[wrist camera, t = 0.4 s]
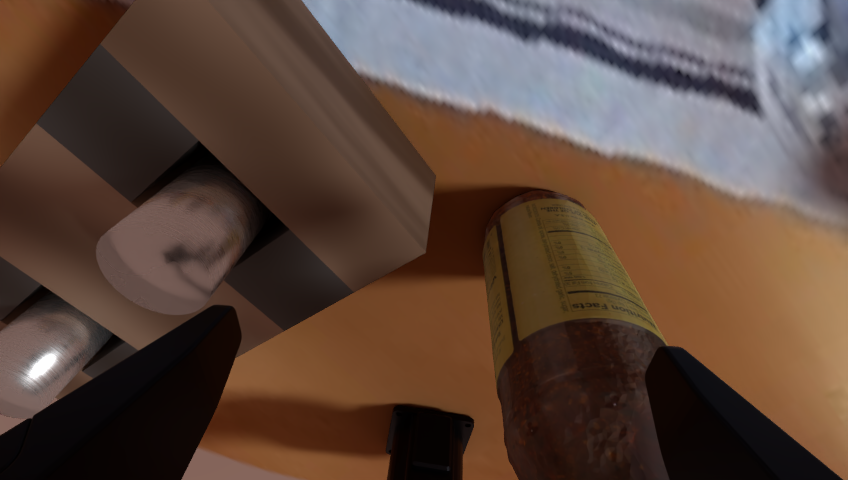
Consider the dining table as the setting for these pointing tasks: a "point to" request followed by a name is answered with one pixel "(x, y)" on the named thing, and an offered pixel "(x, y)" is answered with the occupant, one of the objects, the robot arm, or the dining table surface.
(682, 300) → the dining table surface
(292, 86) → the walnut block
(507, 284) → the sauce bottle
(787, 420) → the dining table surface
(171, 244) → the peg
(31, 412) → the peg
